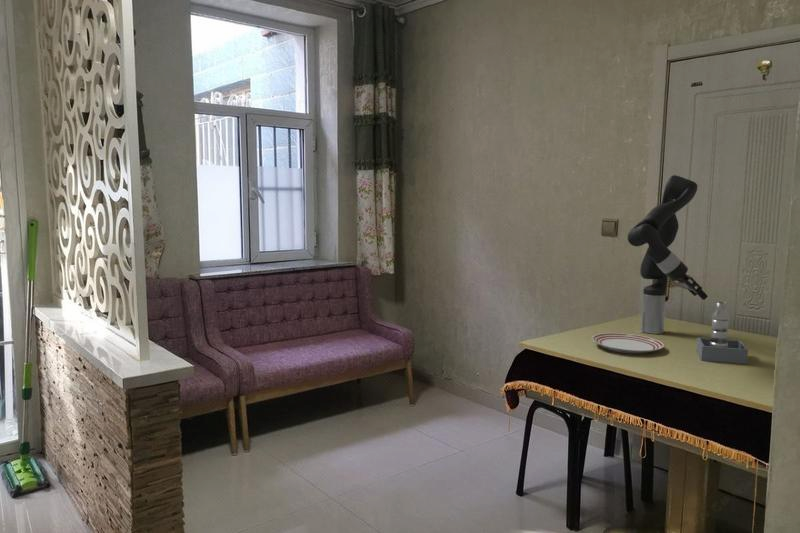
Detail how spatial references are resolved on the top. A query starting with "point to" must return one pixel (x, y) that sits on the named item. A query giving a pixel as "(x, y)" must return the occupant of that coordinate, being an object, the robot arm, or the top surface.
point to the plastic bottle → (720, 326)
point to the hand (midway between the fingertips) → (701, 296)
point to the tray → (722, 352)
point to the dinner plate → (627, 343)
